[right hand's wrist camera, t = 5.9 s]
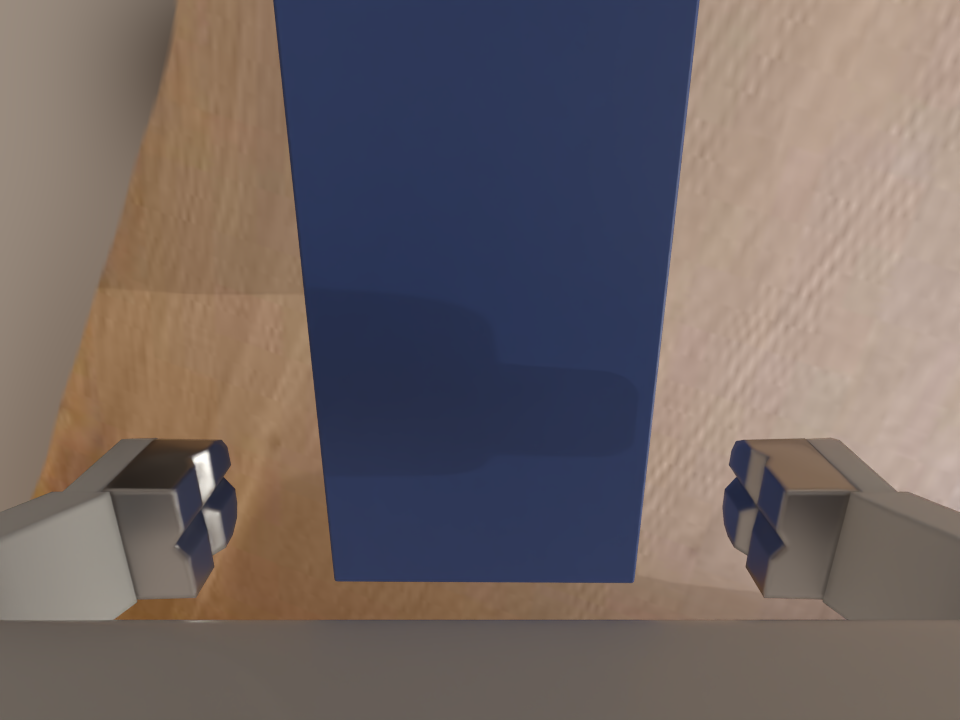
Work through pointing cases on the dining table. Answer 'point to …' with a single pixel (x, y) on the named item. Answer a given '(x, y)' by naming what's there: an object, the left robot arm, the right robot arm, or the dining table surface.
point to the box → (485, 274)
